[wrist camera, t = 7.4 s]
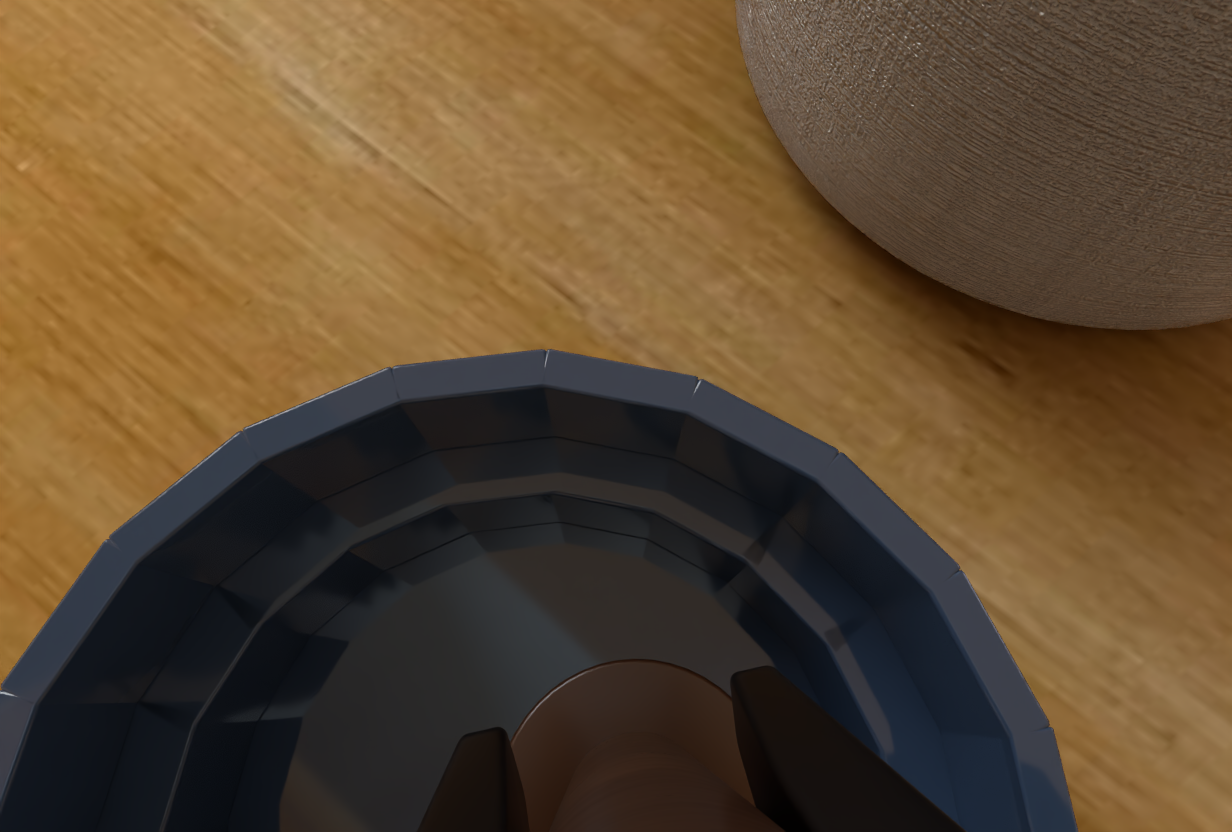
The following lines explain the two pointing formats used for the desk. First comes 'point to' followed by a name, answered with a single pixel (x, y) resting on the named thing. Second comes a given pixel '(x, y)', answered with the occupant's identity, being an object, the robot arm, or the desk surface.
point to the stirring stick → (635, 754)
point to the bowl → (495, 605)
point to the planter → (1018, 144)
